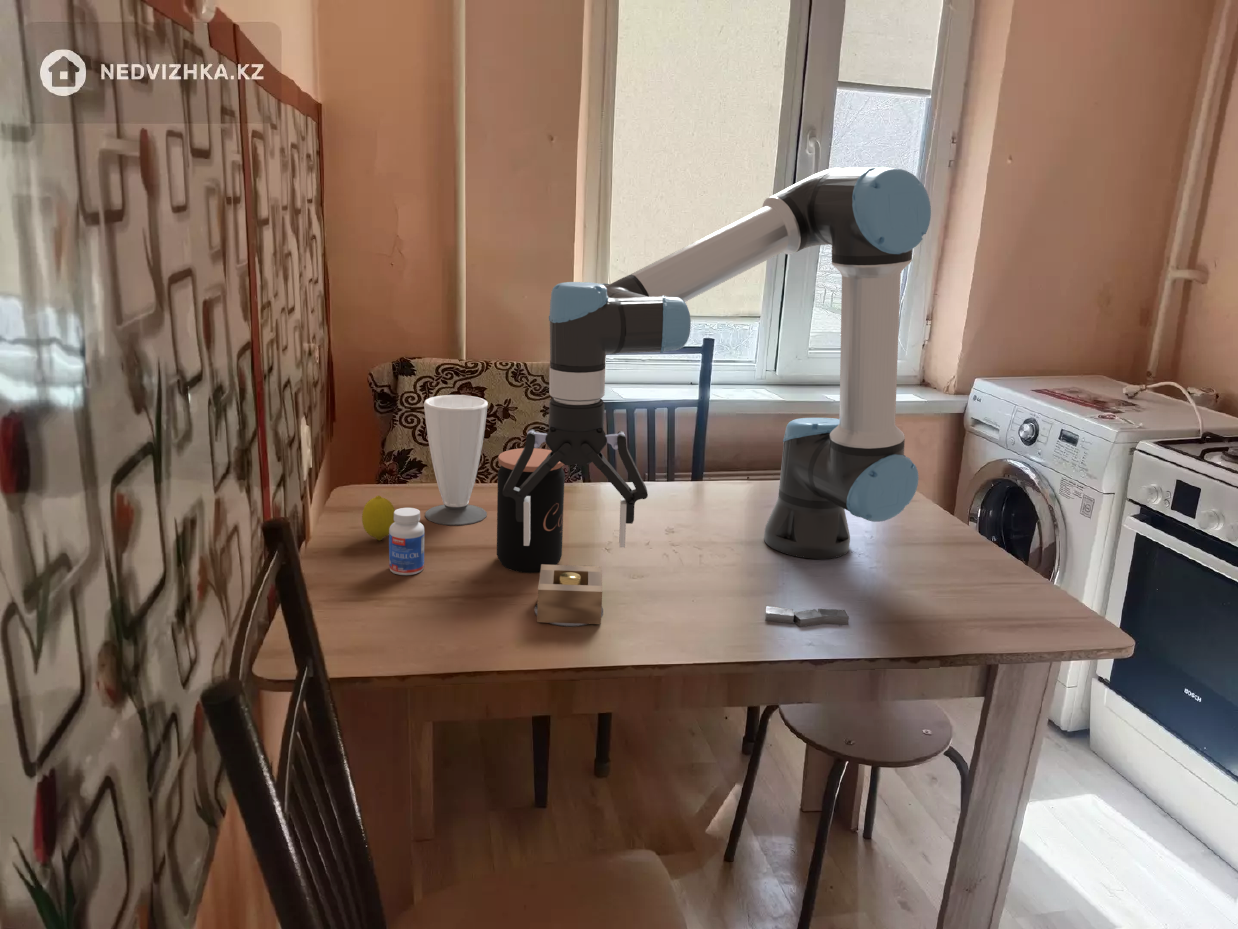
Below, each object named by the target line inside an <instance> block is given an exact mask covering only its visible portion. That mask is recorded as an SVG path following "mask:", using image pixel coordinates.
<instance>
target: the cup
mask: <svg viewBox="0 0 1238 929" xmlns="http://www.w3.org/2000/svg"><path fill="white" fill-rule="evenodd" d="M488 403H489V402H488V401H487V400H486V399H484V398H481V397H478V396H471V395H465V394H447V395H438V396H437V395H436V396H431V397H428V398H427V399H425V400H424V402H423V407H424V408H423V409H424V417H425V418H424V419H425V424H426V434H427V439H428V445H429V446H428V447H429V451H430V452H429V453H430V456H431V462H432V468H433V471H434V475H435V479H436V483H437V484H436V485H437V487H438V491H439V494H440V497H441V500H442V504H440V505H436V506H433V507H431V508H429V509H427V510H426V511H425V512H424V517H425V518H426V520H428V521H429V522H431V523H434V524H437V525H443V526H467V525H468V526H469V525H473V524H477V523H479V522H481V521H483V520H484V519H486V518H487V515H488V511H486V510H485V509H484V508H482V507H481V506H478V505H473V504H469V502H470V499H471V496H472V493H473V489H474V487H475V483H476V478H477V474H478V469H479V465H480V459H481V454H482V449H483V443H484V437H485V429H486V421H487V413H488V412H487V411H488V405H489V404H488Z"/></svg>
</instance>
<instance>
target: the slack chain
mask: <svg viewBox="0 0 1238 929" xmlns="http://www.w3.org/2000/svg"><path fill="white" fill-rule="evenodd" d="M764 616H765V621H767V622H777V623H786V624H795V625H797V626H798V627H799V628H802V627H810V626H815V625H822V624H828V625H829V624H830V625H849V621H850V620H849V619H850V616H849V614H848V613H847V611H846V610H845V609H839V608H838V609H833V608H832V609H830V608H818V609H815V608H814V609H806V610H800V611H794V608H788V607H787V608H786V607H778V606H770V605H769V606H768V605H766V606H765V614H764Z"/></svg>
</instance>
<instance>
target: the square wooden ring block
mask: <svg viewBox="0 0 1238 929" xmlns="http://www.w3.org/2000/svg"><path fill="white" fill-rule="evenodd" d="M602 569H603V568H602V566H600V565H599V566H598V565H596V566H595V565H593V566H592V565H569V564H567V565H566V564H557V565H544V564H541V571H540V572H539V579H538V587H537V603H538V608H537V616H536V618H537V619H536V622H537V623H547V622H549V623H580V624H588V625H601V624H602V617H601V609H602V608H603V606H602V605H603V604H602V603H603V570H602ZM566 572H573V573H577V574H579V575H580V576H581V580H580V585H562V584H560V575H561V574H562V573H566ZM549 623H548V624H549Z"/></svg>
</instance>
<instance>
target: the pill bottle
mask: <svg viewBox="0 0 1238 929" xmlns="http://www.w3.org/2000/svg"><path fill="white" fill-rule="evenodd" d="M394 510H395V511H394V521H395V523H393V524H392V525H391V526H390V528H389V535H388V549H389V550H388V554H389V555H388V556H389V559H388V561H389V562H388V566H389V567H388V568H389V571H390V572H392V573H393V574H396V575H399V576H412V575H413V576H414V575H416V574H419V573H421V572H422V571H423V570H424V568H425V526H424V525H423V524H422V523H421V522H420V520H421V511H420V510H419V509H417V508H414V507H400V508H396V509H394Z"/></svg>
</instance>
